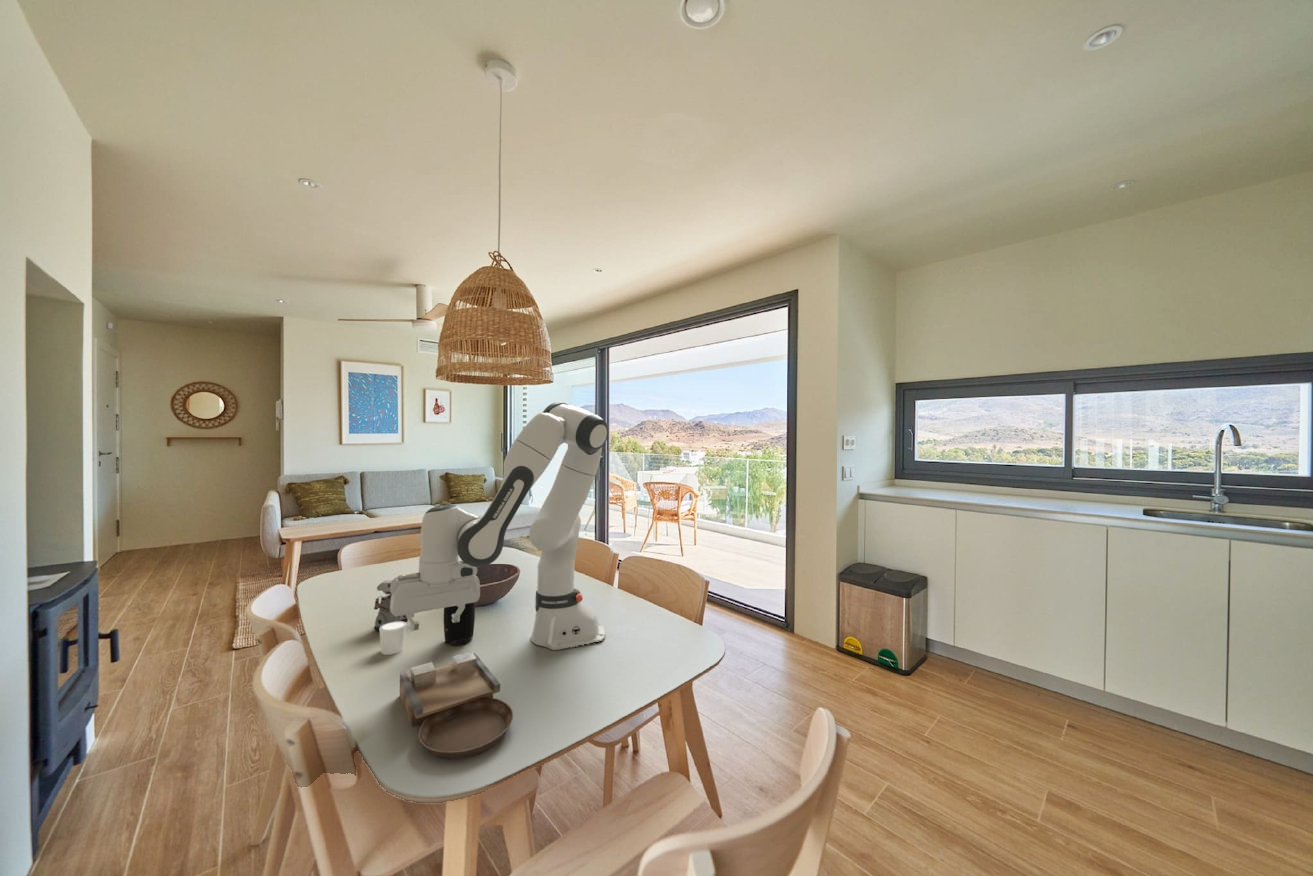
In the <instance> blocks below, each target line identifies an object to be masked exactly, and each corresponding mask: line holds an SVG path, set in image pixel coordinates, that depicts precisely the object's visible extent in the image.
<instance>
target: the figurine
mask: <svg viewBox="0 0 1313 876" xmlns="http://www.w3.org/2000/svg"><path fill="white" fill-rule="evenodd" d="M392 580H393V579H391V580H384V581H382V582H381V583H380V584H378V585H377V586H376V590H377V591H378V592H379V591H381V592H383V593H384V594H385V595H384V596H382V595H381V596H378V597H377V598H375V601H374V606H373V607H374V608H373V610H378V609H379V610H378V613H377V616H376V617H375V623H374V626H373V627H374V628H373V630H374V632H380V631H379V628H380V626H382V625H384V624H386V623H390V622H396V621H403V622H406V623H407V622H408V621H409V619H408V618H407V616H406V615H401V616H394V615H393V614H392V613H391V611H390V602H391V597H392V594H391V592H390V584H391V582H392ZM379 601H380V602H379Z"/></svg>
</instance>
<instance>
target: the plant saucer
mask: <svg viewBox="0 0 1313 876" xmlns="http://www.w3.org/2000/svg"><path fill="white" fill-rule="evenodd" d="M513 719H514V712H513V709H512V707H511V706H510V705H509V704H508V703H506V702H505V701H503V700H501V699H499V698H494V697H493V698H490V697H481V698H478V699H475V700H472V701H469V702H466V703H463V704H460V705H457V706H454V707H451V708H448V709H445V710H442V711H439V712H436V713H433V714H431V715H430V716H429V717H428V718H427V719H426V720H425V721H424V722H422V724H421V726H420V727H419V731H418V738H419V741H420V743H421V744H422V745H423V746H424V748H425V749H426V750H427V751H429V752H430V753H431V754H432V755H434V756H436V757H439V758H442V759H449V760H456V759H457V760H458V759H465V758H471V757H473V756H475V755H479V754H481V753H483V752H485V751H487V750H488V749H490V748H492V747H493V746H494V745H495V744H496V743H498V741H500V739H501V738H503V736H504V735H505V734H506V733H507V731H508V729H509V728H510V726H511V724H512V722H513Z"/></svg>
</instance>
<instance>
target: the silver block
mask: <svg viewBox="0 0 1313 876" xmlns="http://www.w3.org/2000/svg"><path fill="white" fill-rule="evenodd" d="M473 653H474V652H472V651H470V652H469V651H468V652H465V653H461V654H458V655H453V656H451V657H452V658H451V660H452V661H451V664H452V669H453V671H454V672H455V674H456V675H457V676H461V675H464V674H468V673H471V672H474V671H476V665H477V658H476V657H475V656H474V655H473Z"/></svg>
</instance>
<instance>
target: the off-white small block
mask: <svg viewBox="0 0 1313 876" xmlns="http://www.w3.org/2000/svg"><path fill="white" fill-rule="evenodd" d="M436 668H437V667H435V665H434V664H433V662H432V661H430V662H426V663H424V664H419V665H415V666H412V667H410V675H411V682H412V684H413V686H414V689H416V688H419V687H423V686H426V685H429V684H433V683H436Z"/></svg>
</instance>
